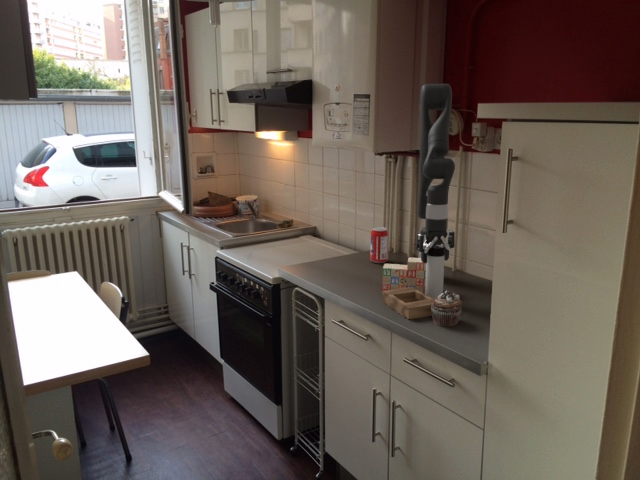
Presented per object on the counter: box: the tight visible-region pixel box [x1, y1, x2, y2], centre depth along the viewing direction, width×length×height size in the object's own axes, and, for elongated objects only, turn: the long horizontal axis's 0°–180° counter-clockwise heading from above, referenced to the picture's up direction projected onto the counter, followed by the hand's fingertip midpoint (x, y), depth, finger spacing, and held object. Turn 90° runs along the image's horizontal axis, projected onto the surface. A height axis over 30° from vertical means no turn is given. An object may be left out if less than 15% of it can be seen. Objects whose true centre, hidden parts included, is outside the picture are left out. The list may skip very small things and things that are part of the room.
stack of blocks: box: [381, 257, 426, 294], centre depth 205 cm, size 21×6×12 cm, turn 76°
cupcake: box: [431, 289, 463, 327], centre depth 176 cm, size 10×10×10 cm
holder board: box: [381, 287, 434, 320], centre depth 189 cm, size 18×12×4 cm, turn 22°
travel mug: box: [425, 245, 445, 300], centre depth 195 cm, size 6×7×20 cm
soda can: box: [369, 226, 390, 264], centre depth 243 cm, size 8×8×15 cm
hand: (434, 261), depth 194 cm, fingers open, 8 cm apart
